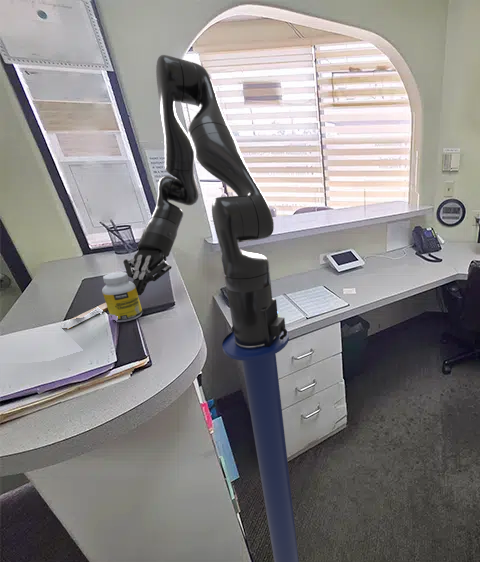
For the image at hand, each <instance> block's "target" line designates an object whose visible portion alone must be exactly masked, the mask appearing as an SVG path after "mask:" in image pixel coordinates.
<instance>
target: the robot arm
mask: <svg viewBox="0 0 480 562" xmlns="http://www.w3.org/2000/svg"><path fill="white" fill-rule="evenodd" d="M155 74H156V75H155V77H156V86H157V95H158V101H159V102H158V103H159V111H160V117H161V118H160V119H161V124H162V130H163V131H162V132H163V137H164V138H163V139H164V169H165V171H166V172H167V174H169V175H164V176H162V177H161V178H159V181H158V182H157V196H156V197H157V198H156V205H155V208H154V211H153V213H152V215H151V217H150V219H149V221H148V222H147V223H146V226H145V228H144V230H143V232H142V235H141V237H140V239H139V241H138V243H137V252H136V253H135V254H134V255H133V257H132V258H131V259H129V260H128V259H127V258H126V259H124V260H123V265H124V268H125V271H126V273H127V275H128V278H131V279H133V280H132V283H134V284H135V287H136V290H137V294H138V296H142V295H143V293H144V292H145V290H146V287H147V285H148V284H149V283H150V282H156V281H157V280H159V279H160V278H161V277H163V276H164V275H165V274H166V273H168V272H169V271H170V270H171V269H172V265H170V264H169V263H167V257H169V256H170V253H171V251H172V248H173V247H174V244H175V241H176V238H177V236H178V231H179V228H180V226H181V223H182V221H183V218H184V212H183V210H182V209H181V208H180V207H178V206H177V205H176V204H174V203H178V204H181V205H184V206H193V205H195V204H196V203H197V202H198V200H199V197H200V191H199V186H198V183H197V179H196V175H195V171H194V169H195V158H196V161H198V163H199V164H200V165H201V167H203V168H204V170H205V171H206V172H207V173H210V174H211V175H212V176H213V177H214V178H216V179H218V180H219V181H220V182H222V183H223V184H225V185H226V186H227V187H229V188H230V189H231V190H232V191H233V192H234V193H235V194H236V195H228V196H218V197H216V198H214V199H213V201H212V204H211V217H212V221H213V226H214V231H215V235H216V239H217V245H218V248H219V254H220V258H221V259H220V260H221V263H222V268H223V274H224V275H223V277H224V281H225V282H224V283H225V287H226V293H227V299H228V306H229V312H230V317H231V323H232V326H231V332H233V331H234V336H235V344H236V345H237V346H238V347H240V348H242V349H258V348H262V347H270V346H271V345H272V343H273V342H274V341H275V339H276V338H277V336H278V337H279V336H280V334H281V333H282V331H283V332H284V333H283V335H282V336H281V337H280V339H281V340H283V338H285V337H286V335H287V331H288V330H287V328H286V320H285V317H281V316H280V317H279V315H278V314H279V311H278V303H277V298H273V290H272V282H271V281H272V280H271V271H270V263H269V262H270V261H269V259H268V257H266V255H264V254H260V253H258V252H257V253H256V252H250V251H246V250H243V249H241V248H240V246H239V243H244V242H251V241H258V240H265V239H267V238H270V236H272V234H273V233H274V229H275V226H274V225H275V223H274V217H273V212H272V211H271V208H270V206H269V204H268V202H267V200H266V198H265V196H264V194H263V193H262V191H261V189H260V187H259V186H258V184H257V183H256V181H255V179H254V178H253V176H252V174H251V172H250V170H249V168H248V166H247V164H246V162H245V160H244V157H243V155H242V153H241V150H240V148H239V145H238V142H237V140H236V138H235V136H234V134H233V132H232V130H231V128H230V125H228V122H227V119H226V118H225V115H224V113H223V111H222V108H221V107H220V106H221V105H220V103H219V100H218V96H217V94H216V91H215V87H214V85H213V82H212V79H211V76H210V74H209V73H208V70H207V69H206V68H205V67H204V66H203V65H201V64H199V63H196V62H194V61H189V60H186V59H182V58H179V57H174V56H171V55H167V54H160V55H159V56H158V58H157V60H156V65H155ZM176 103H181V104H186V105H191V106H196V107H199V108H200V109H199V111H198V112H197V113H196V114H195V116H194V117H193V118H192V120H191V122H190V124H189V126H188V130H187V131H186V130H185V128H184V127H183V124H182V123H181V121H180V120H179V117H178V115H177V112H176V106H175V104H176ZM172 202H173V203H172ZM285 328H286V329H285Z"/></svg>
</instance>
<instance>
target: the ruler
mask: <svg viewBox="0 0 480 562" xmlns="http://www.w3.org/2000/svg"><path fill="white" fill-rule="evenodd" d="M97 307H99V308H100V309H102V310H103V311H104V312H103V313H105V312H107V311H109V310H108V307H107V304H106V302H104V303H101V304H100V305H97V306H95V307H93V308H91V309H89V310H87V311H85V312H83V313H81V314H78V315H76V316H74V317H72V318H70V319H69V320H71V319H76V318H83V317H84V316H85V315H87V314H88V313H90V312H91V311H93V310H94V309H96V308H97Z"/></svg>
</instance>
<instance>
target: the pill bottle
mask: <svg viewBox="0 0 480 562" xmlns="http://www.w3.org/2000/svg"><path fill="white" fill-rule="evenodd" d="M102 279H103V283H104V284H105V285H104V286H103V287H102V290H101V293H102V295H103V298H104V301H105V303H106V304H107V307H108V310H107V311H108V313H109V316H110V315H115V316H118V320H117V321H116V323H125V322H130V321H133V320H136V319H138V318H140V317H141V316H142V314H143V309H142V304H141V301H140V298H139V295H138V294H137V290H136V287H135V284H134V283H133V281H130V280H129V276H128V275H127V272H125V271H116V272H111V273H108V274H105V275H103V276H102Z"/></svg>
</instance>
